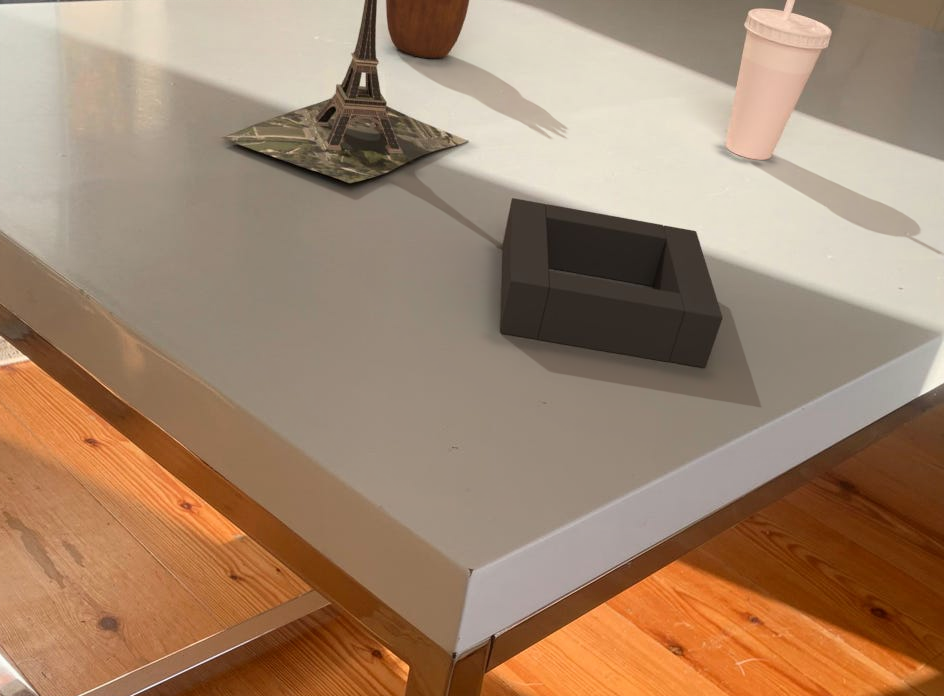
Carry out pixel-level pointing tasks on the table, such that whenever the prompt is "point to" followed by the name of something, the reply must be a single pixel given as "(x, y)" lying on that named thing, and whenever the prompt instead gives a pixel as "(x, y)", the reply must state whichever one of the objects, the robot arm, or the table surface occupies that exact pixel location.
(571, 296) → the dark square frame
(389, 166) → the eiffel tower figurine
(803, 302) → the table surface
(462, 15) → the wooden figurine
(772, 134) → the smoothie
